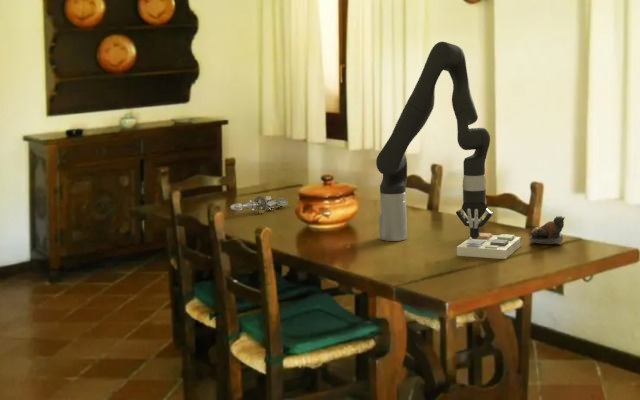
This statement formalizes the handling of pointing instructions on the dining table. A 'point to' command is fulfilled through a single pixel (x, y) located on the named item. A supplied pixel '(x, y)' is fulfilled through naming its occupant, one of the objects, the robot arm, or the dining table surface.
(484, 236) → the key terracotta
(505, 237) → the key sage
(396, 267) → the dining table surface
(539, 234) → the brown cat figurine
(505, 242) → the key charcoal
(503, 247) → the keypad
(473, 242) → the key slate
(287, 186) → the dining table surface
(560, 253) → the dining table surface
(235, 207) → the spaceship
